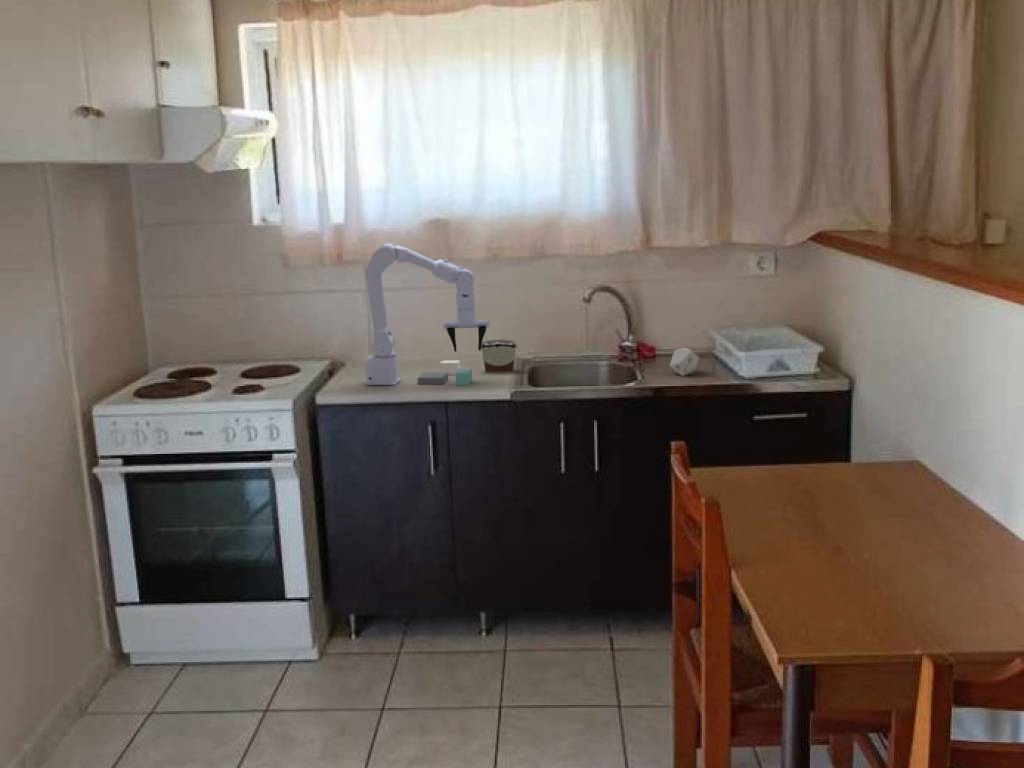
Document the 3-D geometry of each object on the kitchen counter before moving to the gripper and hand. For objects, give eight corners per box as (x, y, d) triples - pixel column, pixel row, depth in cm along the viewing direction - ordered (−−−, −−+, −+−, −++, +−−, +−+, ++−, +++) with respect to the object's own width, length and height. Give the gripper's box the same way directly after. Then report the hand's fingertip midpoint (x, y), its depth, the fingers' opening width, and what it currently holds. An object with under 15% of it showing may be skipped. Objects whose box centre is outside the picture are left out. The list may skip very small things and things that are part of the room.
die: (666, 378, 321) (681, 356, 315) (663, 359, 328) (678, 337, 322) (690, 385, 324) (705, 363, 317) (687, 366, 330) (702, 345, 324)
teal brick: (456, 385, 319) (455, 373, 318) (460, 381, 324) (459, 369, 324) (468, 385, 318) (468, 373, 317) (472, 381, 324) (471, 369, 323)
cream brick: (440, 374, 334) (439, 363, 334) (443, 372, 338) (442, 360, 337) (458, 374, 334) (457, 363, 333) (460, 372, 337) (460, 360, 336)
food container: (519, 368, 339) (518, 338, 337) (518, 372, 334) (517, 342, 331) (483, 368, 341) (482, 339, 338) (480, 372, 335) (479, 343, 332)
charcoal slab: (418, 385, 322) (417, 377, 321) (424, 379, 329) (423, 372, 329) (442, 385, 320) (442, 378, 320) (448, 379, 328) (448, 372, 328)
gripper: (442, 311, 316) (444, 353, 319) (489, 309, 317) (490, 351, 320) (442, 307, 323) (444, 349, 326) (488, 305, 324) (490, 347, 327)
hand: (467, 350), depth 323 cm, fingers open, 7 cm apart
